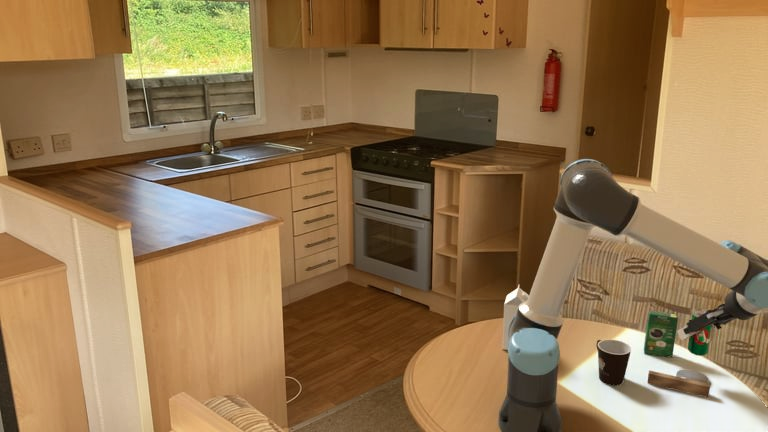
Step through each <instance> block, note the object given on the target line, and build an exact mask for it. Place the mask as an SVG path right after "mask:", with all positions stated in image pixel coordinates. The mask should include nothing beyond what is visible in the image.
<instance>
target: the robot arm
mask: <svg viewBox="0 0 768 432" xmlns="http://www.w3.org/2000/svg"><path fill="white" fill-rule="evenodd" d="M553 211H554V213H555V215H556V219H555V222H554V225H553V228H552V229H551V233H550V236H549V238H548V241H547V244H546V246H545V250H544V251H543V252H544V253H543V256H542V258H541V261H540V264H539V266H538V269H537V272H536V276H535V278H534V281H533V284H532V286H531V289H530V292H529V294H528V295H529V297H528V300H527V301H526V302H523V303H521V304H520V305H519V307H518V310H517V313H516V315H515V316H514V317H513V319H512V321H511V323H510V325H509V330H508V336H509V346H508V350H507V355H508V356H507V357H508V359H507V380H506V381H507V382H506V396H505V397H504V400H503V402H502V404H501V406H500V409H499V412H498V417H497V419H498V421H497V422H498V423H497V425H498V427H499V429H500V430H501V432H562V430H563V429H562V428H563V427H562V426H563V421H562V416H561V413H560V409H559V406H558V403H557V393H558V392H557V391H558V388H557V387H558V375H559V374H558V373H559V363H560V362H559V361H560V358H561V351H560V343H559V342H558V338H559V335H560V332H561V330H562V328H563V324H564V319H563V316H562V315H561V312H562V309H563V306H564V304H565V301H566V298H567V296H568V294H569V291H570V289H571V285H572V283H573V280H574V277H575V275H576V272H577V269H578V266H579V265H580V261H581V259H582V256H583V254H584V251H585V248H586V245H587V243H588V240H589V237H590V235H591V232H592V230H593V229H594V228H595V227H597V228H600V229H601V230H603V231H605V232H606V233H609V234H612V235H613V236H616V237H619V236H620V237H621V236H622V235H623V236H626V237H628V238H629V239H632V240H634V241H635V242H638V243H639V244H642V245H643V246H645V247H647V248H649V249H651V250H653V251H655V252H656V253H659V254H661V255H662V256H665V257H667V258H669V259H671V260H672V261H675V262H676V263H678V264H681V265H682V266H685V267H687V268H689V269H691V271H694V272H696V273H698V274H700V275H702V276H704V277H706V278H708V279H711V280H712V281H714V282H716V283H718V284H719V285H721V286H724V287H726V288H727V289H730V290H731V291H730V292H729V293H727V294H726V296H725V297H724V303H721V304H720V305H718V307H716V308H714V309H707V310H708V311H707V312H705V313H704V314H702V315H701V316H699V317H697V318H695V319H694V320H691V319H689V320H688V322H687V323H686V325H685V326H683V327H682V328H680V329H677V330H676V333H677V334H678V336H679V338H680V341H685V340H686V339H689V337H690V336H692V335H694V334H695V333H697V332H699V330H701V329H703V328H705V327H707V326H709V325H711V324H712V329H711V331H712V330H714V329H717V330H721V329H722V326H725V325H727V324H729V323H730V322H732V321H735V320H736V319H738V320H740V321H748V320H750V319H752V318H753V317H755V316H758V315H759V314H761V313H764V314H767V313H768V259H766V258H764V257H762V256H760V255H759V254H758V253H755V252H753V251H751V250H750V249H748V248H746V247H745V246H743V245H742V244H739V243H736V242H734V241H732V240H729V239H726V240H723V241H721V242H717V241H714V240H713V239H710V238H708V237H707V236H705V235H703V234H700V233H699V232H697V231H695V230H694V229H691V228H689V227H687V226H685V225H684V224H682V223H679V222H677V221H676V220H673V219H672V218H669V217H667V216H665V215H663V214H662V213H659V212H657V211H656V210H653V209H651V208H650V207H648V206H646V205H644V204H642V202H641V199H640V197H639V196H637V195H635V194H634V193H631V192H630V191H628V190H627V189H626V188H624V187H623V186H621V185H620V184H619V183H618V182H617V181H616V179H615V178H614V177H613V174H612V172H611V170H610V168H608V167H607V166H606V165H605V164H604V163H602V162H600V161H598V160H596V159H591V158H590V159H589V158H582V159H578V160H575V161H573V162H571V163H570V164H569V165H568V166H567V167H566V168H565V169H564V171H563V173H562V174H561V177H560V188H559V191H558V194H557V196H556V199H555V202H554V205H553Z"/></svg>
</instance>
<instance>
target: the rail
mask: <svg viewBox="0 0 768 432" xmlns="http://www.w3.org/2000/svg"><path fill="white" fill-rule="evenodd" d="M647 384H650V385H654V386H657V387H658V386H659V387H662V388H667V389H670V390H675V391H679V392H683V393H687V394H690V395H691V394H692V395H696V396H700V395H701V397H704V396H706V397H705V398H709V395H710V390H711V389H710V388H711V383H709V382H708V383H703V382H699V381H694V380H690V379H685V378H681V377H677V376H675V375H671V374H666V373H662V372H660V371H659V372H657V371H654V370H648V375H647Z"/></svg>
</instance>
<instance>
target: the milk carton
mask: <svg viewBox="0 0 768 432" xmlns="http://www.w3.org/2000/svg"><path fill="white" fill-rule="evenodd" d="M529 295H530V294H528V293H527V292H526V291H524V290H523V289H522V288H521V287H520V284H518V286H517V288H516V289H514V290H513V291H511V292H510V293H508V294H507V295H506V297H505V301H504V304H503V328H502V329H503V330H502V345H501V347H502V350H506V351H508V346H509V336H508V330H509V325H510V323H511V321H512V319H513V317H514V316H515V315H516V313H517V310H518V307H519V305H520V304H521V303H523V302H526V301H527V300H528V297H529Z"/></svg>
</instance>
